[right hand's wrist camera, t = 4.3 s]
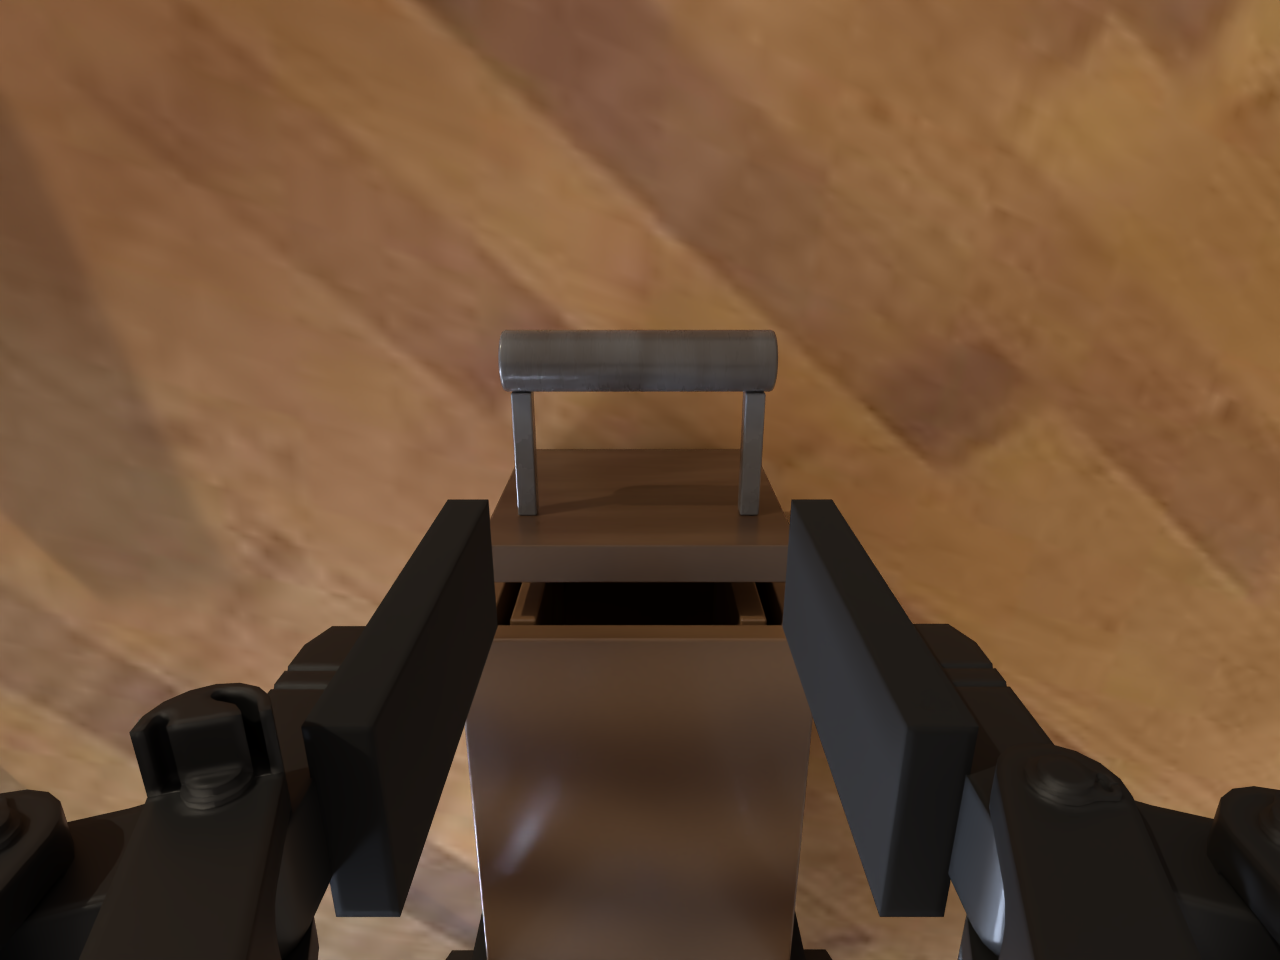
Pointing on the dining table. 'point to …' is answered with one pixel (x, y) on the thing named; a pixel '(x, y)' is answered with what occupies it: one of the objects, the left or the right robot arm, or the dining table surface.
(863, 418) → the dining table surface
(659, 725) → the cabinet
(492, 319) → the dining table surface
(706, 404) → the dining table surface
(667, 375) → the drawer
